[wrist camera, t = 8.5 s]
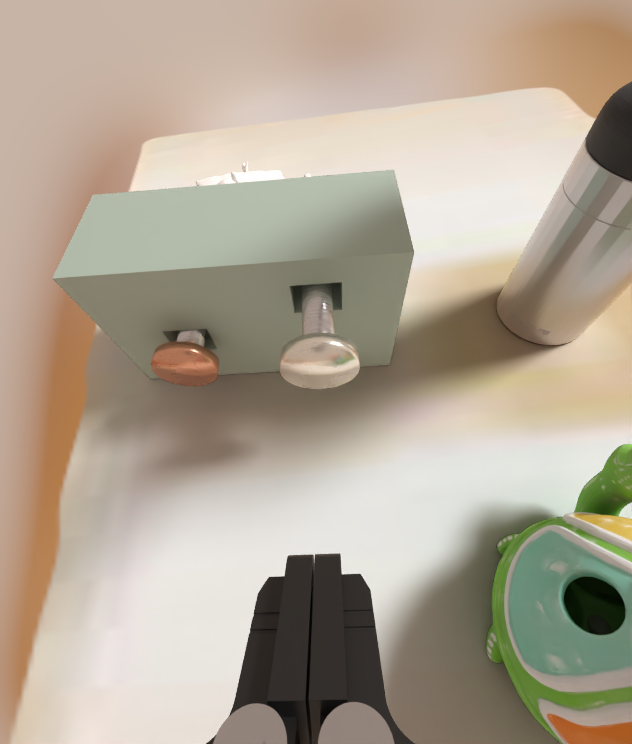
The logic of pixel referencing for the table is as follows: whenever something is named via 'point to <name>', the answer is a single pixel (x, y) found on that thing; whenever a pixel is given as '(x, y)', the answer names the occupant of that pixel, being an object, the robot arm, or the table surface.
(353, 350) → the plunger cream
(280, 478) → the table surface
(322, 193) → the console
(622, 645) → the turtle holder
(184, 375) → the plunger terracotta
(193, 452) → the table surface
